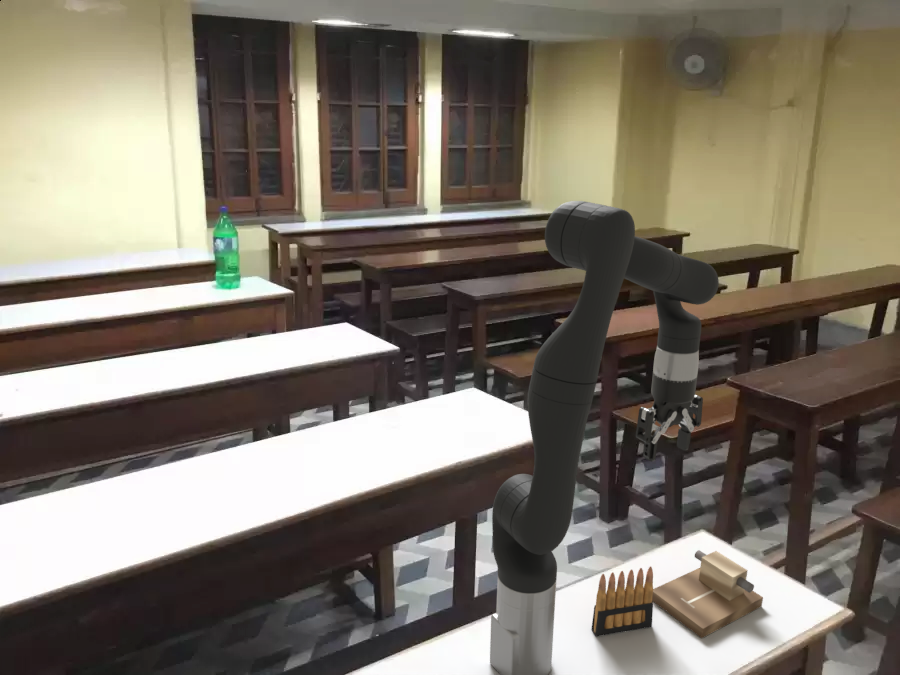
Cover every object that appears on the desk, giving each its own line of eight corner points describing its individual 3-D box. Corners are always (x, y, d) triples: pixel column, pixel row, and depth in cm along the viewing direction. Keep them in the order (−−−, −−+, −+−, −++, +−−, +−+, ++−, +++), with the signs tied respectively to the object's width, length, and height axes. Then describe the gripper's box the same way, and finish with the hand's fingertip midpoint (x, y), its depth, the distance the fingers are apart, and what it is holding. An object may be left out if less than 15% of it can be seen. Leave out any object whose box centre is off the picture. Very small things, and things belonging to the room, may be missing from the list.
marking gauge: (741, 608, 130) (744, 585, 129) (688, 572, 140) (691, 550, 139) (755, 601, 132) (759, 577, 131) (702, 566, 142) (705, 544, 141)
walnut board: (701, 638, 126) (703, 628, 126) (650, 599, 136) (651, 590, 135) (761, 606, 134) (763, 597, 134) (708, 571, 144) (709, 563, 143)
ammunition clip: (595, 636, 127) (600, 578, 123) (591, 629, 128) (595, 571, 124) (652, 626, 129) (658, 568, 125) (646, 619, 131) (653, 562, 127)
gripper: (662, 386, 123) (653, 472, 128) (719, 370, 130) (709, 453, 135) (630, 372, 129) (623, 455, 134) (686, 358, 136) (677, 437, 141)
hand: (666, 454), depth 135 cm, fingers open, 8 cm apart
